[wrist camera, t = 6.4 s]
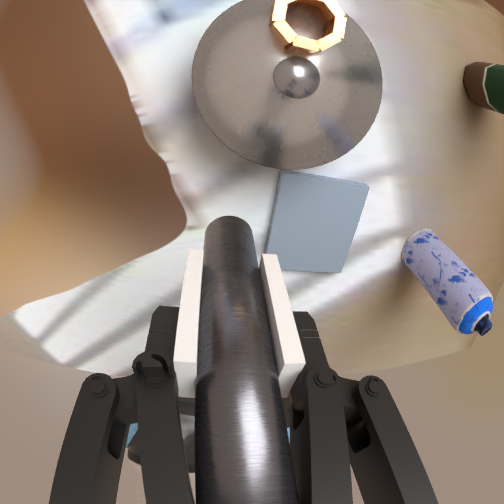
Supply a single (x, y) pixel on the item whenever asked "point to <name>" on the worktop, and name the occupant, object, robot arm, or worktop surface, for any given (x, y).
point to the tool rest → (314, 221)
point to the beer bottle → (485, 85)
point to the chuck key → (237, 380)
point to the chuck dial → (287, 81)
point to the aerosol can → (449, 282)
